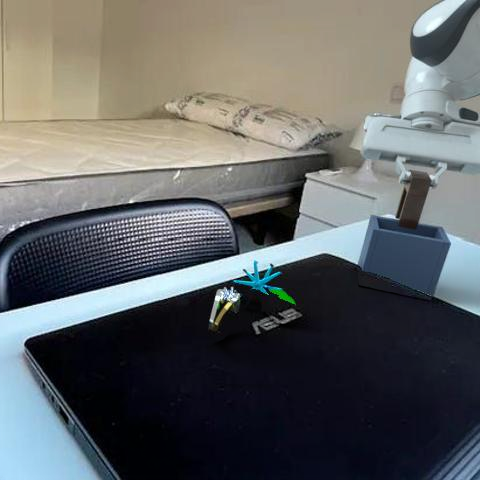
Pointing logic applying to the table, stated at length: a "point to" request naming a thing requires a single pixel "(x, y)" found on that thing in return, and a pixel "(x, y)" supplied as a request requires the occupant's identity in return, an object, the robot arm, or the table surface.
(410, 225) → the brown wooden block
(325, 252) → the table surface
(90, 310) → the table surface
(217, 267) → the table surface
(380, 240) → the box
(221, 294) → the ring
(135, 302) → the table surface
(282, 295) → the blue flower
